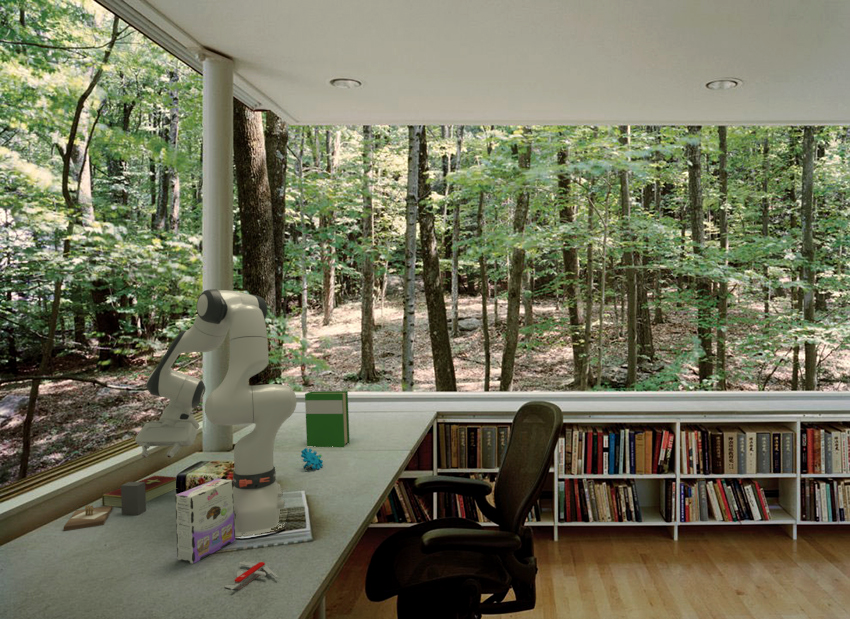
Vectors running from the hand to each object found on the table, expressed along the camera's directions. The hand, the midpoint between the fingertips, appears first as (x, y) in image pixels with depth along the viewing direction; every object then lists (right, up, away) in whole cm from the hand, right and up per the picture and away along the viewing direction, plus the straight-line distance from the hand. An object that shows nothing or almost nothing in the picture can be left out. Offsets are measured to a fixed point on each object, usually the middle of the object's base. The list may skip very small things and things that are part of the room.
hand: (156, 456), depth 178 cm
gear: (+46, -13, +30) cm, 56 cm away
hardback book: (+45, -13, +66) cm, 81 cm away
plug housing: (-1, -14, -11) cm, 18 cm away
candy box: (+33, -13, -41) cm, 54 cm away
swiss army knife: (+49, -13, -57) cm, 77 cm away
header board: (-13, -15, -16) cm, 25 cm away
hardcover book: (-7, -15, +5) cm, 17 cm away
